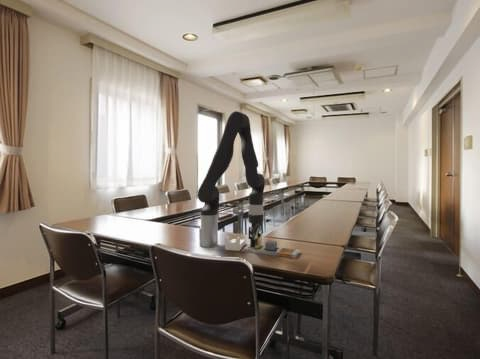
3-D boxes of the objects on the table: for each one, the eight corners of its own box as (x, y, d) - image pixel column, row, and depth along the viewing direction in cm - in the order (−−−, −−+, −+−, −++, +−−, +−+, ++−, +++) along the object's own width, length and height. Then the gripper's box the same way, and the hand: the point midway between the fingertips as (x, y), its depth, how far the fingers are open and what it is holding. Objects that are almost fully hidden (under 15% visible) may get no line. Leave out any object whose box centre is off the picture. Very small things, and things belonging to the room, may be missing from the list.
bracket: (238, 253, 138) (238, 238, 138) (225, 252, 140) (225, 237, 140) (245, 246, 151) (245, 232, 150) (233, 245, 153) (233, 231, 152)
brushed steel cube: (265, 252, 135) (265, 242, 135) (268, 250, 139) (268, 240, 139) (274, 253, 133) (274, 243, 133) (276, 251, 137) (276, 241, 137)
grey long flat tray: (243, 253, 137) (243, 248, 137) (250, 248, 145) (250, 243, 145) (295, 260, 126) (295, 254, 126) (299, 254, 135) (299, 249, 135)
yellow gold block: (250, 250, 138) (250, 237, 138) (253, 248, 142) (253, 235, 142) (258, 251, 136) (258, 238, 136) (261, 249, 140) (261, 236, 140)
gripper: (254, 210, 146) (254, 240, 147) (243, 214, 133) (243, 247, 134) (267, 211, 143) (267, 242, 144) (257, 215, 130) (258, 249, 131)
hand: (256, 244), depth 139 cm, fingers open, 8 cm apart
